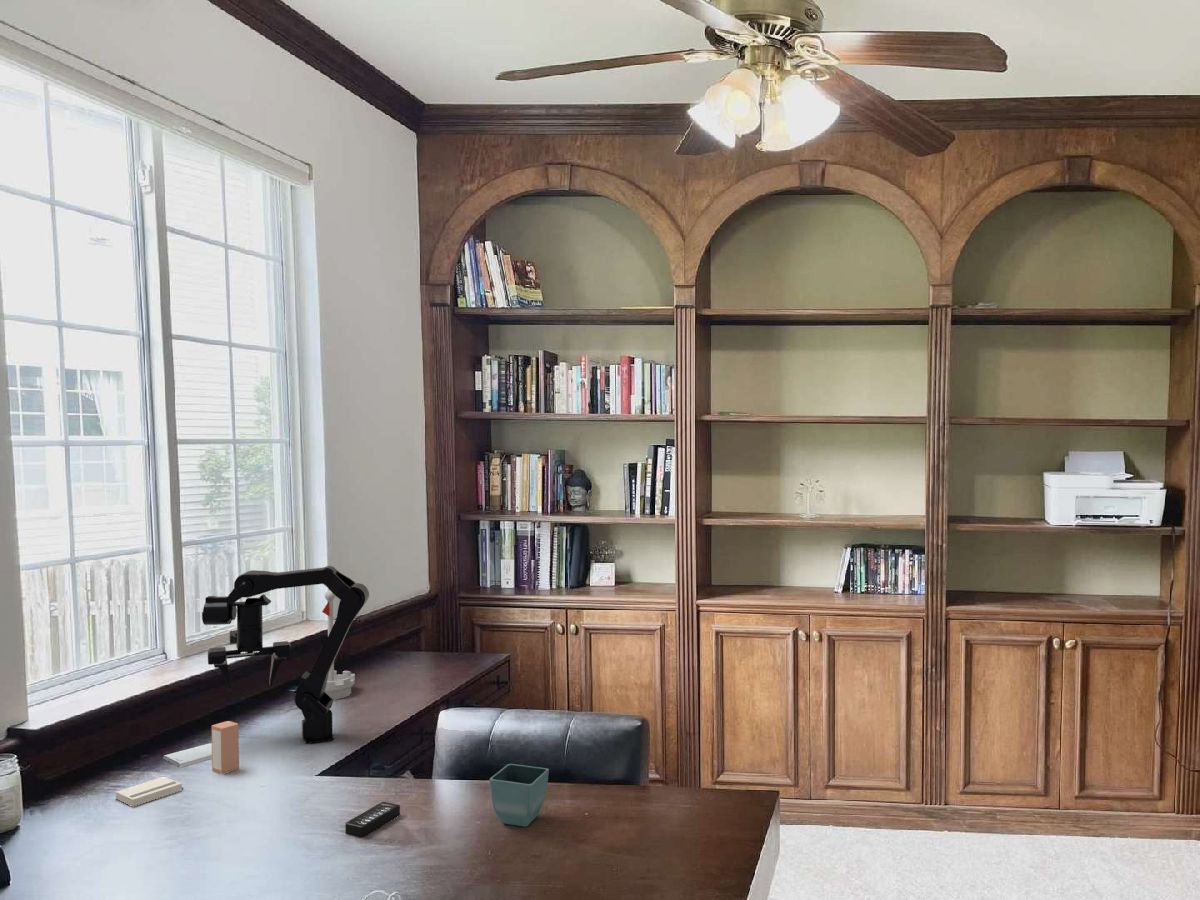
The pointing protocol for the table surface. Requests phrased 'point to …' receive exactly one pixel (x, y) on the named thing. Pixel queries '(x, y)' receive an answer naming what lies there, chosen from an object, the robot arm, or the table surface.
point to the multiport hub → (372, 819)
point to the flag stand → (336, 683)
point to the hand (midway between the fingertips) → (250, 688)
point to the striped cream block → (148, 791)
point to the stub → (225, 747)
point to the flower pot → (518, 793)
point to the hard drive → (190, 755)
